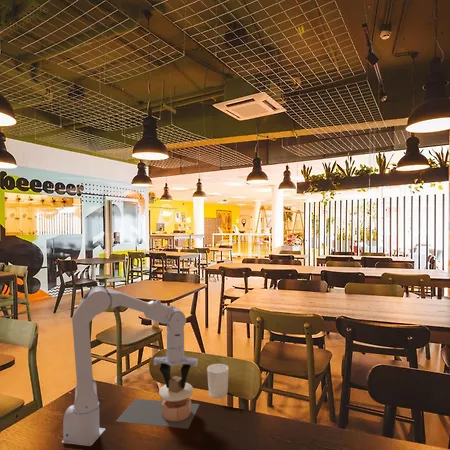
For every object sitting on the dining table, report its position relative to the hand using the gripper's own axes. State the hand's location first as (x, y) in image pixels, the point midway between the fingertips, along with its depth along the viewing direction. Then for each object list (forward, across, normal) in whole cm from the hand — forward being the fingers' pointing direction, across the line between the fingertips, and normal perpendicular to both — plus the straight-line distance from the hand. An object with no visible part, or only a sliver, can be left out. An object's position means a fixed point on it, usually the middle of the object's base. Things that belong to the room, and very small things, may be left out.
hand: (176, 386), depth 109 cm
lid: (+2, 0, 0) cm, 2 cm away
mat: (+9, -6, 0) cm, 11 cm away
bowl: (+9, 0, 0) cm, 9 cm away
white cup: (+10, +12, +14) cm, 21 cm away
